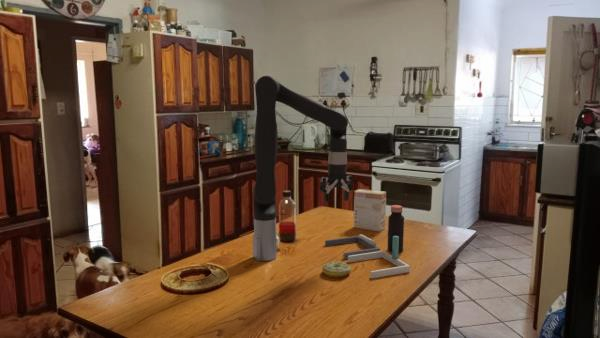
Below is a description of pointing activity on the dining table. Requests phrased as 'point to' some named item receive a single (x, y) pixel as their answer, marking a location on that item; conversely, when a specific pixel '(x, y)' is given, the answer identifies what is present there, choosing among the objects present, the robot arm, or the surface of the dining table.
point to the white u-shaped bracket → (392, 258)
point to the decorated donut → (336, 269)
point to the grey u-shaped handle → (360, 239)
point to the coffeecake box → (369, 209)
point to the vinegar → (395, 227)
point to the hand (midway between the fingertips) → (336, 201)
